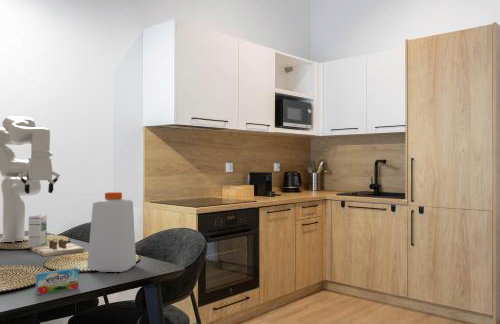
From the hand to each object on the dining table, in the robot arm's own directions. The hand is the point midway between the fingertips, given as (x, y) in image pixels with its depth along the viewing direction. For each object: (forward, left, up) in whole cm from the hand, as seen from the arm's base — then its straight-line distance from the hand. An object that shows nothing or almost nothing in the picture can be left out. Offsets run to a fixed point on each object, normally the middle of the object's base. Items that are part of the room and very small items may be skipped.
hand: (39, 193), depth 202 cm
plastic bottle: (+58, +9, -25) cm, 63 cm away
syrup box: (-3, +1, -25) cm, 25 cm away
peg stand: (+12, +5, -25) cm, 28 cm away
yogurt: (+76, -17, -25) cm, 81 cm away
